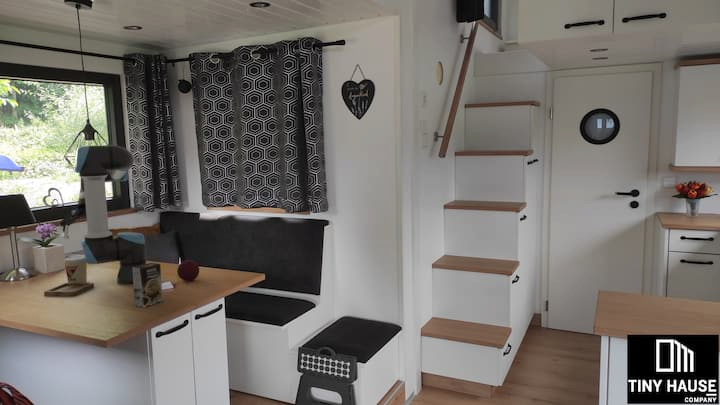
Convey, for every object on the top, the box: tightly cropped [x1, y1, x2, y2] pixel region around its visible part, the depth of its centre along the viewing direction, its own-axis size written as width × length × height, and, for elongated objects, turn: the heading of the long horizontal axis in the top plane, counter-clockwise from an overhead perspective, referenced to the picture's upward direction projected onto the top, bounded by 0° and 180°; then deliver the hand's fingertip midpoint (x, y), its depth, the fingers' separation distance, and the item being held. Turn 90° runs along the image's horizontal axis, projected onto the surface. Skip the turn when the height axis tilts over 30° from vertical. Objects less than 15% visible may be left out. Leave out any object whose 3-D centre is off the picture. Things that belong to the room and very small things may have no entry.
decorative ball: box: [176, 259, 200, 282], centre depth 253 cm, size 10×10×10 cm
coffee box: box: [132, 262, 164, 308], centre depth 218 cm, size 9×6×16 cm
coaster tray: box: [43, 282, 95, 297], centre depth 240 cm, size 14×14×2 cm
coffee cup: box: [63, 255, 88, 283], centre depth 254 cm, size 9×9×12 cm
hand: (80, 236), depth 263 cm, fingers open, 13 cm apart
